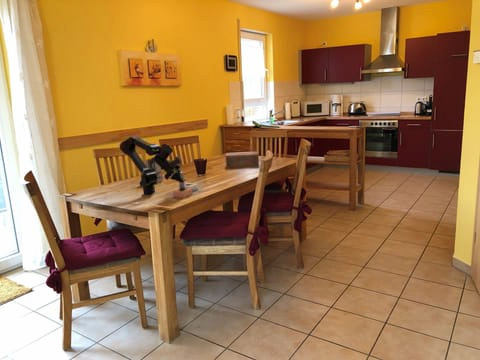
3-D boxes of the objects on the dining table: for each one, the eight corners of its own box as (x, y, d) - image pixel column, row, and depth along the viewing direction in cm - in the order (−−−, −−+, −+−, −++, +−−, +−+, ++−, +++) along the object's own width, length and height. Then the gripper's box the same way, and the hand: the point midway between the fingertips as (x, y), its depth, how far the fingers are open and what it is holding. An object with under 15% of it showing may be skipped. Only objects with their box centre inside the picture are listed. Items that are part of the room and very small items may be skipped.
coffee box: (163, 181, 269) (161, 158, 265) (157, 183, 264) (154, 160, 260) (153, 180, 274) (151, 157, 270) (147, 182, 268) (144, 159, 265)
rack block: (184, 197, 218) (183, 191, 217) (173, 196, 222) (172, 190, 221) (192, 194, 225) (192, 188, 224) (181, 193, 229) (181, 187, 228)
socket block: (190, 192, 229) (189, 186, 229) (179, 191, 233) (179, 185, 233) (198, 189, 236) (197, 183, 235) (187, 188, 240) (187, 182, 239)
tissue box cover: (258, 163, 321) (257, 151, 318) (258, 166, 307) (258, 154, 304) (227, 164, 321) (226, 153, 319) (226, 168, 307) (225, 155, 305)
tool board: (185, 200, 216) (184, 198, 215) (162, 198, 224) (162, 196, 223) (207, 191, 234) (207, 189, 234) (186, 189, 242) (185, 187, 242)
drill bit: (183, 193, 221) (181, 173, 219) (178, 193, 223) (177, 173, 220) (186, 192, 224) (184, 172, 221) (182, 192, 225) (180, 171, 223)
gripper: (168, 155, 209) (189, 174, 211) (176, 150, 227) (196, 168, 229) (155, 170, 212) (176, 189, 213) (164, 164, 230) (184, 181, 231)
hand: (184, 181), depth 222 cm, fingers closed on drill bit, 3 cm apart
